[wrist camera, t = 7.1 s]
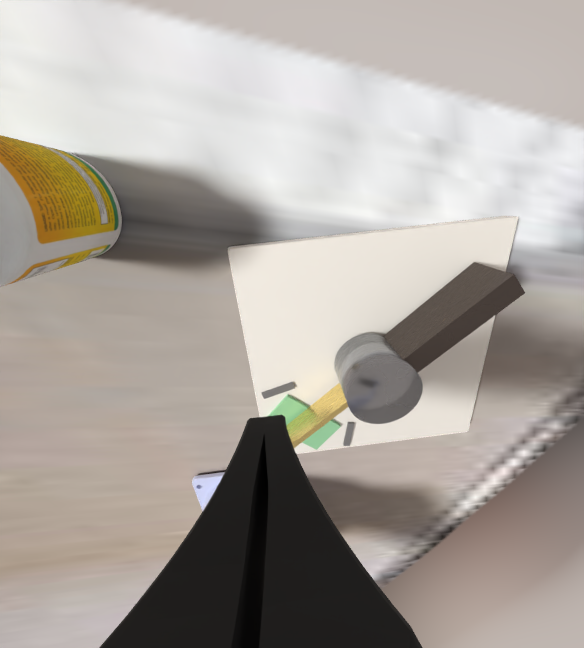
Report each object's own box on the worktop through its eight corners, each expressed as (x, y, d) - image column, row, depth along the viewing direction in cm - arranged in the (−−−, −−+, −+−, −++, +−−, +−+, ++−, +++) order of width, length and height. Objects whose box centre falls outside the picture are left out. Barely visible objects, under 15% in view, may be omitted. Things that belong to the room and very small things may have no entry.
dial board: (460, 422, 24) (470, 434, 23) (267, 447, 24) (267, 460, 22) (505, 215, 17) (522, 217, 16) (229, 246, 16) (226, 250, 15)
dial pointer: (302, 441, 22) (307, 484, 19) (261, 413, 20) (259, 454, 17) (495, 293, 18) (546, 315, 14) (461, 243, 16) (510, 255, 13)
